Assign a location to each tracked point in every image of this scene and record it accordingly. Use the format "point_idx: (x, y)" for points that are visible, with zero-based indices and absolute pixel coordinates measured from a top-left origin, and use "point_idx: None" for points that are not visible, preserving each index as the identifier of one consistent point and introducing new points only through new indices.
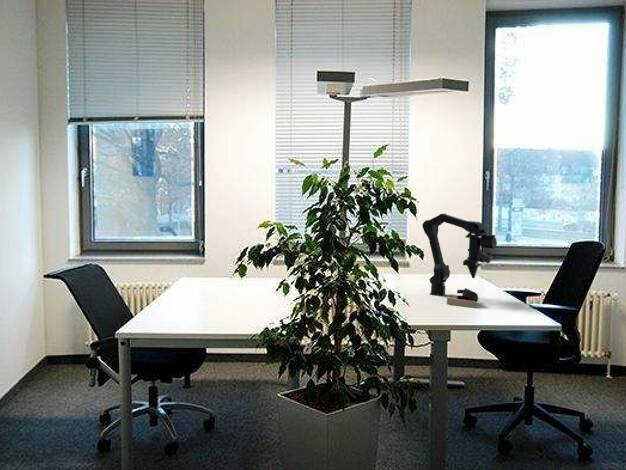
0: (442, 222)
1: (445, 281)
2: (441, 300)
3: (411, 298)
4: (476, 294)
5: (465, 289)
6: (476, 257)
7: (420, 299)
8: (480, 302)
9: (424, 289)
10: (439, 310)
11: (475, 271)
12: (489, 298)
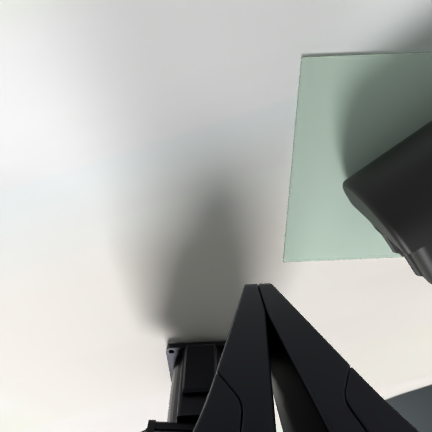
0: None
1: (154, 425)
2: (360, 305)
3: None
4: None
5: (422, 238)
6: None
7: (380, 372)
8: (317, 84)
9: (124, 425)
10: None
11: (354, 380)
12: (71, 76)
